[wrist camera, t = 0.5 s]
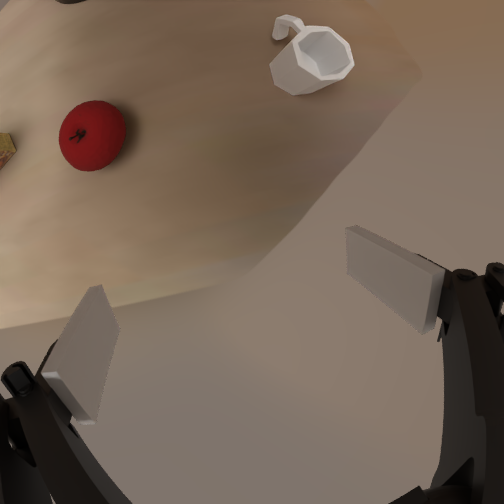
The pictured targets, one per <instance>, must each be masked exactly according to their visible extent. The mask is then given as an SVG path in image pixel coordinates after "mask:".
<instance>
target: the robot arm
mask: <svg viewBox="0 0 504 504" xmlns="http://www.w3.org/2000/svg"><path fill="white" fill-rule="evenodd" d="M56 1H57V2H60V3H64V4H71V3H77V2H81V1H84V0H56ZM346 250H347V274H349V275H350V276H351V277H352V278H353V279H355V280H356V281H357V282H359V283H360V284H361V285H362V286H364V287H365V288H366V289H367V290H369V291H370V292H371V293H372V294H374V295H375V296H376V297H377V298H378V299H380V300H381V301H382V302H383V303H385V304H386V305H387V306H388V307H389V308H391V309H392V310H393V311H394V312H395V313H397V314H398V315H399V316H400V317H401V318H403V319H404V320H405V321H406V322H408V323H409V324H410V325H411V326H412V327H413V328H415V329H416V330H417V331H418V332H419V333H420V334H422V335H423V334H425V333H426V332H428V331H430V330H432V329H434V327H435V322H436V318H437V316H438V317H439V318H441V319H442V324H441V328H440V332H439V336H438V340H437V342H439V341H440V338H441V337H442V347H443V362H444V419H443V435H442V446H441V455H440V462H439V465H438V468H437V471H436V473H435V475H434V477H433V480H432V483H431V486H430V488H429V489H426V490H422V489H421V487H420V486H418V487H416V488H414V489H413V490H411V491H410V492H408V493H406V494H405V495H403V496H401V497H400V498H398V499H396V500H394V501H393V502H391V503H389V504H504V315H503V314H502V313H501V308H502V305H503V302H504V265H503V264H502V263H498V262H496V263H489V264H488V265H487V267H486V273H485V275H481V276H478V275H477V274H476V273H475V272H473V271H471V270H468V269H456V270H454V271H453V272H451V271H449V270H447V269H446V268H444V267H442V266H440V265H438V264H436V263H433V261H431V260H427V258H425V257H423V256H421V255H419V254H415V253H413V252H410V251H409V250H407V249H405V248H403V247H401V246H399V245H397V244H395V243H393V242H391V241H389V240H387V239H385V238H383V237H381V236H379V235H377V234H374V233H372V232H370V231H368V230H366V229H364V228H362V227H359V226H357V225H356V226H352V227H347V228H346ZM119 332H120V327H119V325H118V323H117V320H116V318H115V316H114V314H113V311H112V309H111V306H110V304H109V302H108V299H107V297H106V294H105V292H104V289H103V287H102V285H98V286H94V287H90V288H89V289H88V291H87V292H86V294H85V295H84V297H83V298H82V300H81V302H80V303H79V305H78V306H77V308H76V310H75V311H74V313H73V315H72V316H71V318H70V320H69V322H68V323H67V325H66V327H65V328H64V330H63V332H62V334H61V335H60V337H59V339H57V340H56V342H54V343H53V344H52V345H51V347H50V348H49V350H48V352H47V355H46V356H45V357H44V359H43V362H42V363H41V365H40V367H39V369H38V371H37V373H36V375H35V377H34V375H33V374H32V372H31V371H30V369H29V368H28V366H27V365H26V363H25V362H22V361H19V362H16V363H13V364H11V365H10V366H9V367H7V369H6V370H5V371H4V372H3V374H2V376H1V381H2V383H3V384H4V385H5V387H6V388H7V390H8V391H9V392H10V393H11V395H12V396H13V397H12V398H9V399H6V400H5V399H4V398H3V397H2V395H1V394H0V504H53V503H52V499H51V496H52V497H53V499H54V501H55V503H56V504H132V503H131V501H130V500H129V499H128V498H127V497H126V496H125V495H124V494H123V493H122V491H121V490H120V489H119V488H118V487H117V486H116V484H115V483H114V482H113V481H112V479H111V478H110V477H109V476H108V474H107V473H106V472H105V471H104V469H103V468H102V467H101V465H100V464H99V463H98V461H97V460H96V459H95V457H94V456H93V455H92V453H91V452H90V450H89V449H88V447H87V446H86V444H85V443H84V441H83V440H82V438H81V437H80V435H79V434H78V432H77V431H76V429H75V427H74V426H73V425H72V424H71V423H70V420H71V417H72V415H73V417H74V418H75V419H76V420H77V421H78V422H79V424H96V421H97V416H98V411H99V407H100V402H101V397H102V394H103V389H104V385H105V381H106V377H107V374H108V370H109V366H110V362H111V359H112V355H113V352H114V348H115V345H116V341H117V338H118V335H119ZM9 442H10V443H11V444H12V447H11V445H10V443H9ZM50 494H51V496H50Z"/></svg>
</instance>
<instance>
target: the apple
mask: <svg viewBox="0 0 504 504" xmlns="http://www.w3.org/2000/svg"><path fill="white" fill-rule="evenodd" d="M125 136H126V127H125V122H124V118H123V116H122V114H121V113H120V111H119V110H118V109H117V108H116V107H114V106H113V105H111V104H109V103H107V102H104V101H88V102H84V103H82V104H80V105H78V106H76V107H75V108H74V109H73V110H72V111H70V112H69V114H68V115H67V116H66V118H65V119H64V121H63V123H62V125H61V129H60V132H59V145H60V149H61V151H62V154H63V156H64V157H65V159H66V160H67V161H68V162H69V163H70V164H71V165H72V166H73V167H74V168H76V169H78V170H81V171H95V170H100V169H102V168H104V167H105V166H107V165H109V164H110V163H111V162H112V161H113V160H114V159H115V157H116V156H117V155H118V153H119V151H120V149H121V147H122V145H123V142H124V139H125Z"/></svg>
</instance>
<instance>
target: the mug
mask: <svg viewBox="0 0 504 504" xmlns="http://www.w3.org/2000/svg"><path fill="white" fill-rule="evenodd" d="M289 26H290V27H292V28H293V29H294V30H295V31H296V32H297V33H298V34H297V35H296V36H295V37H294V38H293V39H292V40H291V41H290V42H289V43H288V44H287V45H286V46H285V47H284V48H283V50H282V51H281V52H280V53H279V54H278V55H277V56H276V57H275V58H274V59H273V60H272V61H271V63H270V64H269V66H270V70H271V74H272V78H273V82H274V85H276V86H277V87H279V88H281V89H283V90H284V91H286V92H288V93H289V94H291V95H292V96H294V95H301V94H309V93H313V92H315V91H317V90H319V89H321V88H324V87H326V86H328V85H330V84H333V83H335V82H337V81H340V80H342V79H344V78H345V76H346V75H347V74H348V72H349V71H350V70H351V69H352V67H353V66H354V65H355V64H354V60H353V57H352V53H351V49H350V46H349V43H347V42H346V41H345V40H344V39H343V38H342V37H341V36H339V35H338V34H337V33H336V32H335V31H333V30H332V29H331V28H330V27H325V26H306V27H305V25H304V24H303V22H302V20H301V19H299V18H297V17H294V16H291V15H288V14H286V15H283V16H280V17H277V18H276V21H275V25H274V30H273V34H272V37H273V38H274V39H275V40H280V39H283V38H285V37H287V36H288V31H289Z"/></svg>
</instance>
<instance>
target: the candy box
mask: <svg viewBox="0 0 504 504" xmlns="http://www.w3.org/2000/svg"><path fill="white" fill-rule="evenodd" d="M15 152H16V149H15V147H14V145H13V142H12V140H11V138H10V135H9V134H7V133H0V169H1V168H2V167H3V165H4V164H5V163H6V162H7V161H8V160H9V158H10V157H11V156H12V155H13V154H14V153H15Z"/></svg>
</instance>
